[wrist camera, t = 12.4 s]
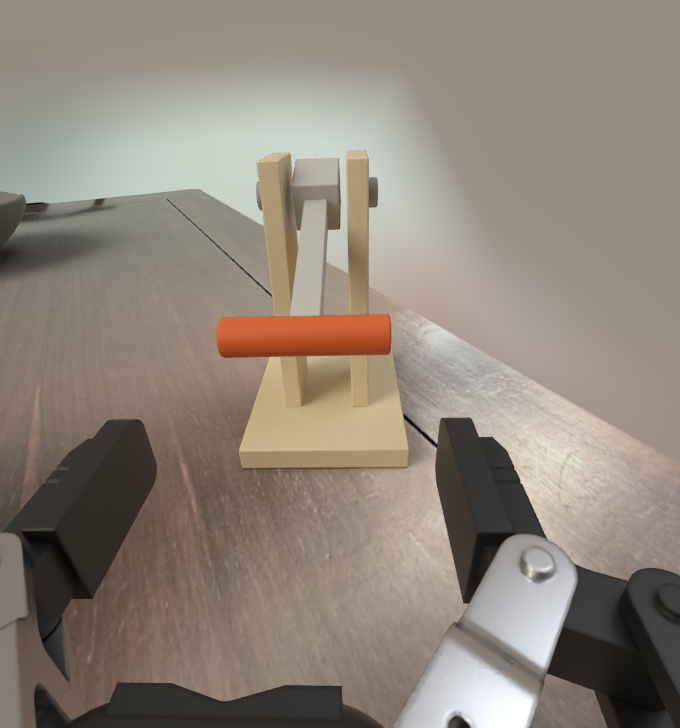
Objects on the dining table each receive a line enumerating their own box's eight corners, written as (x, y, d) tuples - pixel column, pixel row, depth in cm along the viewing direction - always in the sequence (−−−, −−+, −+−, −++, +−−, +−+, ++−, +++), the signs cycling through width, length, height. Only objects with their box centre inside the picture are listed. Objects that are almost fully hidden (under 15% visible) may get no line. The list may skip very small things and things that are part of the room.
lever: (389, 371, 16) (393, 324, 14) (226, 374, 16) (209, 327, 14) (375, 200, 23) (376, 155, 22) (266, 203, 24) (258, 159, 22)
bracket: (408, 467, 23) (427, 165, 16) (241, 469, 23) (182, 173, 16) (390, 357, 33) (397, 143, 26) (275, 359, 34) (249, 148, 26)
